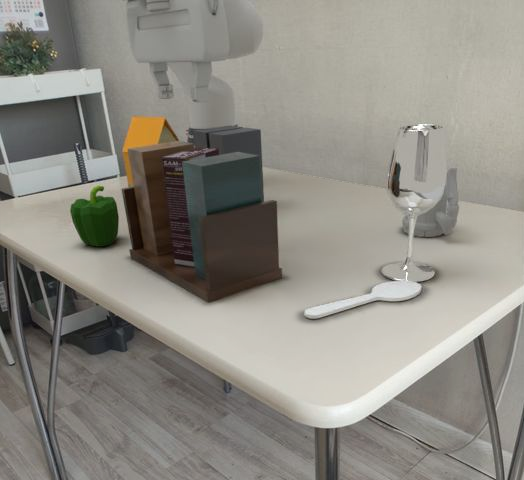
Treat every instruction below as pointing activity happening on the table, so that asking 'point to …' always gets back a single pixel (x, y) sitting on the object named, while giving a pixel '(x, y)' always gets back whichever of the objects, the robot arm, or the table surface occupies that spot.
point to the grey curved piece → (439, 212)
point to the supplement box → (181, 201)
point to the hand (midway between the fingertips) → (182, 100)
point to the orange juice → (146, 137)
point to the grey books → (232, 142)
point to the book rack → (204, 221)
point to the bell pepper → (96, 219)
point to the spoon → (369, 298)
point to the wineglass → (415, 187)
